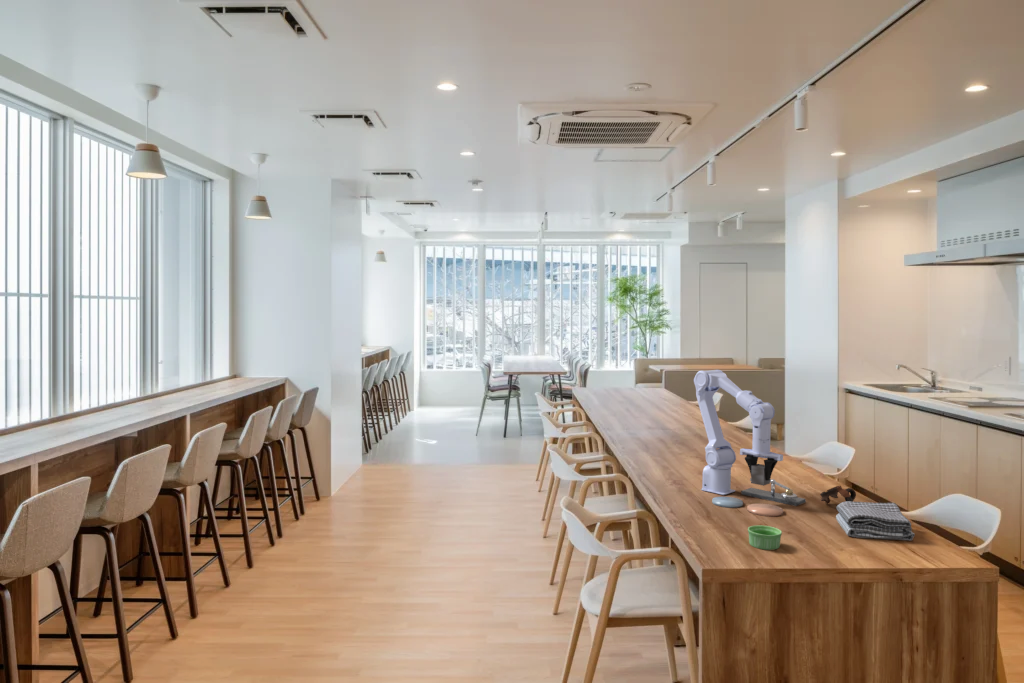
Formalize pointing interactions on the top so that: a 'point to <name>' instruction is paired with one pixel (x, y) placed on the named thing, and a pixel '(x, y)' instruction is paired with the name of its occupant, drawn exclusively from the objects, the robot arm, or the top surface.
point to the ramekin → (764, 537)
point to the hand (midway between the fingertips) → (760, 478)
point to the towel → (874, 521)
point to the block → (758, 475)
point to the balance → (775, 494)
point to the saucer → (727, 502)
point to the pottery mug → (834, 492)
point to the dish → (765, 509)
